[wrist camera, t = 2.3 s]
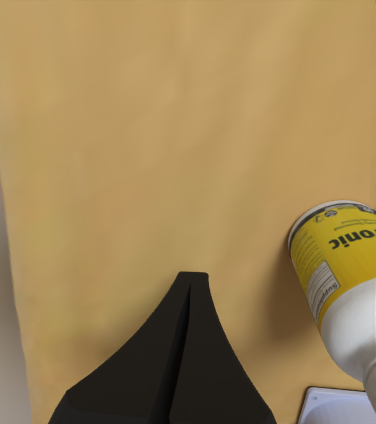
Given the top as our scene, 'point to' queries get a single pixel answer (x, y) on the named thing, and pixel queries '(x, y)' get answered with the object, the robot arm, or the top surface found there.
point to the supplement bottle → (341, 282)
